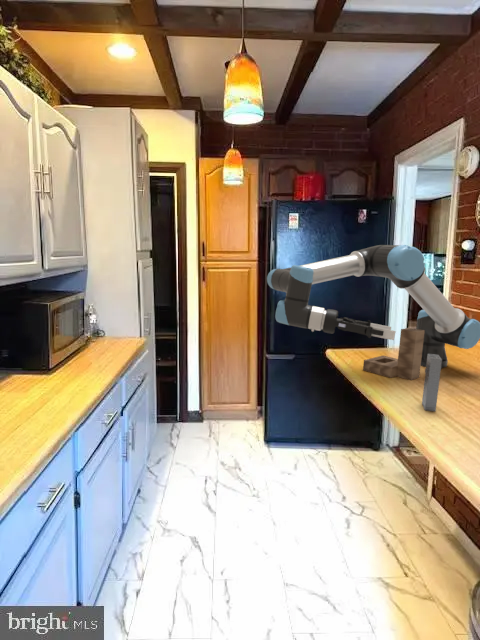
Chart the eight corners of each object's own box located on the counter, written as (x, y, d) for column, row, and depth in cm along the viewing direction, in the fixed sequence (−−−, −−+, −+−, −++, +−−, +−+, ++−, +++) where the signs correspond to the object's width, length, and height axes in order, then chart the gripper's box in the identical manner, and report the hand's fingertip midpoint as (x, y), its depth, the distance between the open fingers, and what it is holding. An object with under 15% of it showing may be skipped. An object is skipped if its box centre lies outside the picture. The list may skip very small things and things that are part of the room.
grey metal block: (423, 410, 132) (429, 358, 129) (420, 403, 137) (426, 353, 134) (436, 411, 131) (443, 359, 128) (433, 404, 136) (439, 354, 134)
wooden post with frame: (362, 370, 172) (367, 324, 169) (382, 364, 181) (386, 321, 178) (405, 382, 158) (411, 333, 155) (424, 375, 167) (429, 329, 164)
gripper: (323, 327, 153) (386, 340, 149) (319, 335, 129) (393, 350, 125) (327, 306, 152) (391, 318, 148) (324, 310, 128) (399, 324, 124)
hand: (392, 333), depth 136 cm, fingers open, 13 cm apart
